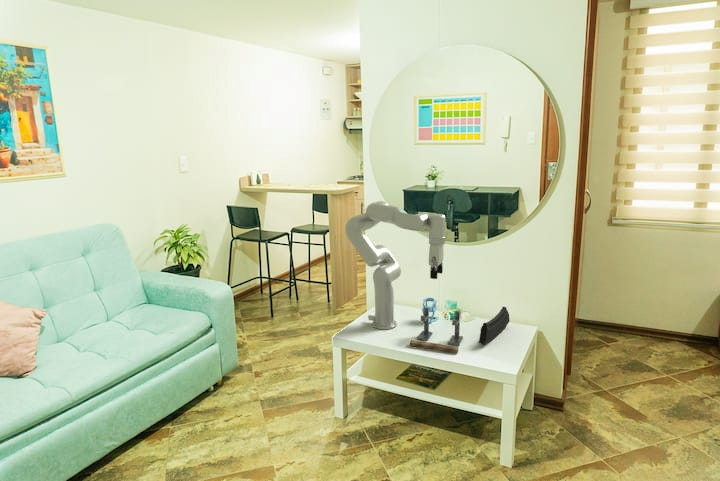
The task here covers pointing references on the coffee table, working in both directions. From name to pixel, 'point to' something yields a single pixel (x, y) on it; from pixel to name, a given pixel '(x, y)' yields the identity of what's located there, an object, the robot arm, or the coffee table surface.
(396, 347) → the coffee table surface
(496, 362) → the coffee table surface
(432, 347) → the rail
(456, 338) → the hook stand
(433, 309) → the chair
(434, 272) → the robot arm
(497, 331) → the magazine
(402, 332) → the coffee table surface
